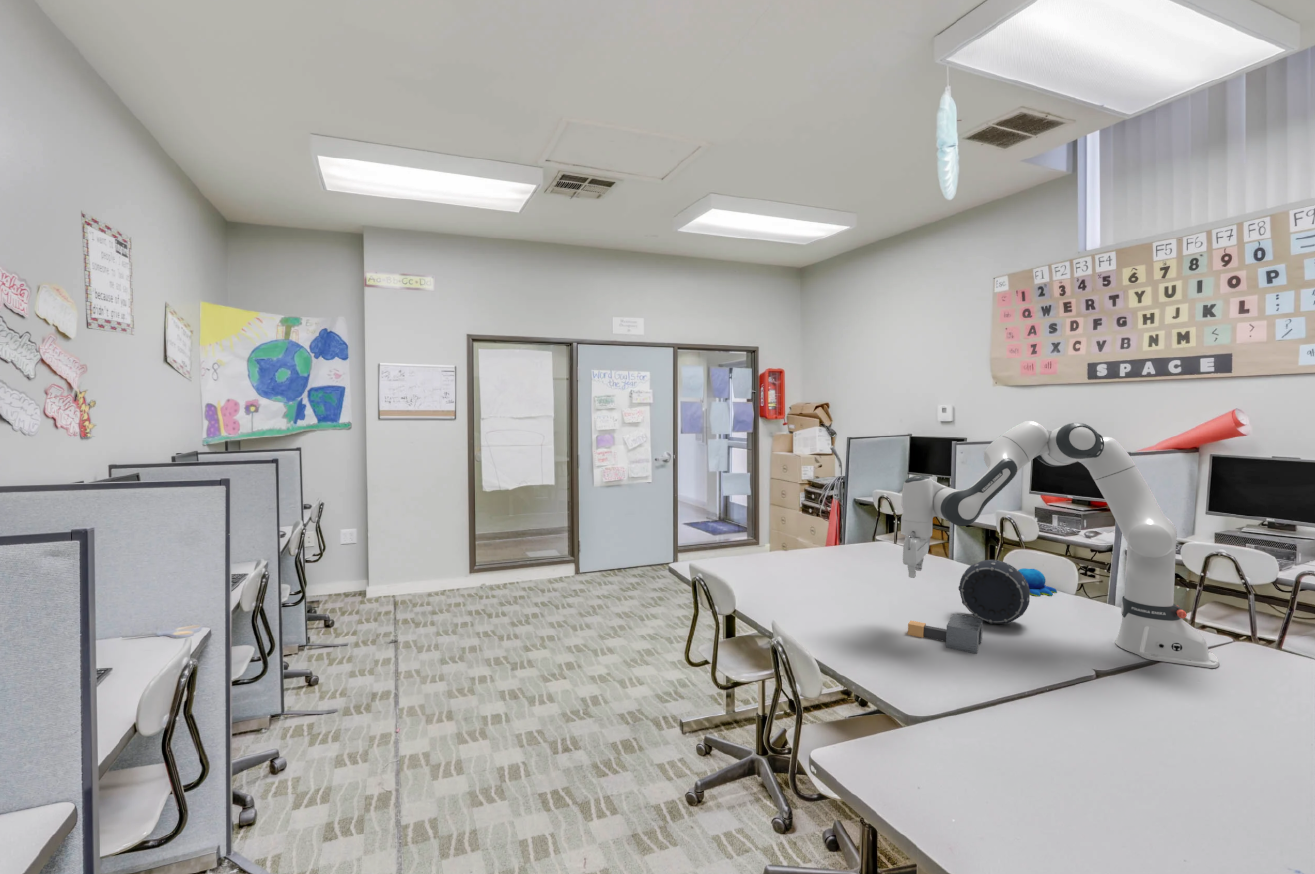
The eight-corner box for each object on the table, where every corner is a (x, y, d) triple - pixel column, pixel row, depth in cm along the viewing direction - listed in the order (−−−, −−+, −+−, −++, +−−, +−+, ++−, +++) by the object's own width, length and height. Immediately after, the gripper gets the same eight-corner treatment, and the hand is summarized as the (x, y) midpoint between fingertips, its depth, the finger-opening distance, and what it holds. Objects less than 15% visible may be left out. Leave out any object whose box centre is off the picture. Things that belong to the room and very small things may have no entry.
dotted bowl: (1026, 633, 186) (1028, 569, 185) (955, 619, 199) (957, 559, 198) (1030, 623, 195) (1032, 562, 194) (962, 610, 207) (964, 553, 206)
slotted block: (982, 640, 181) (982, 619, 181) (976, 653, 171) (977, 631, 171) (952, 634, 185) (953, 613, 185) (946, 647, 176) (946, 625, 175)
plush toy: (1025, 598, 222) (1026, 576, 222) (994, 584, 239) (995, 563, 238) (1066, 596, 224) (1067, 574, 224) (1032, 583, 241) (1033, 562, 241)
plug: (974, 643, 178) (975, 632, 178) (973, 647, 175) (973, 636, 175) (910, 631, 188) (910, 620, 188) (907, 634, 185) (908, 623, 185)
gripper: (920, 536, 174) (919, 583, 175) (933, 524, 191) (932, 568, 192) (897, 533, 178) (896, 580, 178) (912, 522, 194) (911, 565, 195)
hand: (915, 573), depth 185 cm, fingers open, 8 cm apart
